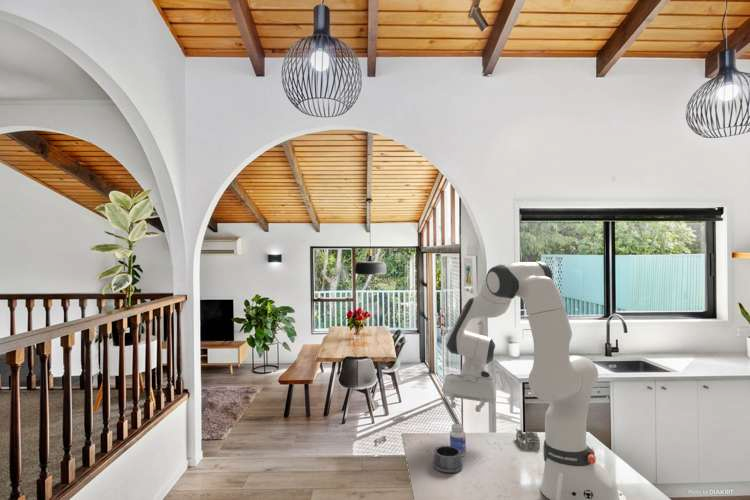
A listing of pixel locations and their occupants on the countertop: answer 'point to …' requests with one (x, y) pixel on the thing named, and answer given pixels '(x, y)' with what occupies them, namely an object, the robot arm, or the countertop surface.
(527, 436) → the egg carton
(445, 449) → the cup holder
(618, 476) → the countertop surface
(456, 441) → the pill bottle
